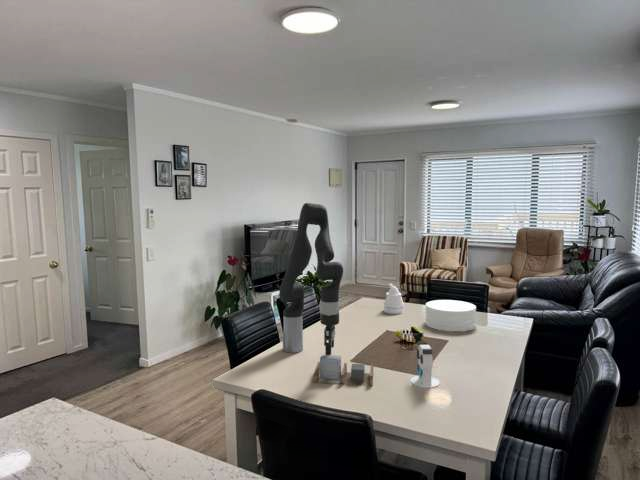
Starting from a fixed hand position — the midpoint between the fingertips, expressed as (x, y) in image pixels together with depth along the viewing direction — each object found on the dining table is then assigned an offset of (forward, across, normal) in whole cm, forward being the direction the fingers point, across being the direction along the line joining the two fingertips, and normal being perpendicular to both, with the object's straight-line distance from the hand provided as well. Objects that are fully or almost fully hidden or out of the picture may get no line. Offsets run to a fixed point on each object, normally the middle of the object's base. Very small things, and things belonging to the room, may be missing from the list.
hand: (329, 350), depth 174 cm
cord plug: (+11, -2, +11) cm, 16 cm away
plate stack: (+13, -87, +59) cm, 106 cm away
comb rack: (+12, 0, +6) cm, 13 cm away
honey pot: (+13, -113, +27) cm, 117 cm away
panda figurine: (+12, -3, +38) cm, 40 cm away
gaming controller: (+13, -55, +35) cm, 67 cm away
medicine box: (+11, 0, 0) cm, 11 cm away
